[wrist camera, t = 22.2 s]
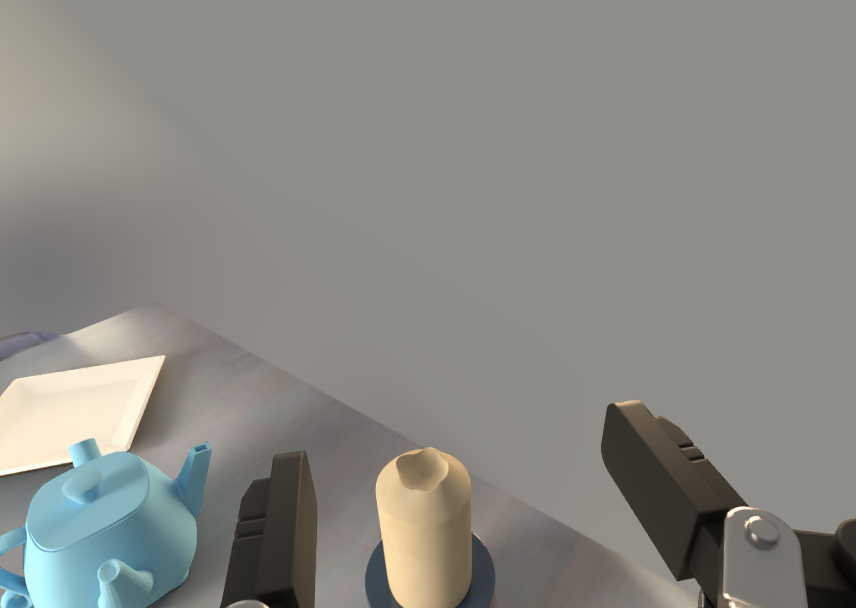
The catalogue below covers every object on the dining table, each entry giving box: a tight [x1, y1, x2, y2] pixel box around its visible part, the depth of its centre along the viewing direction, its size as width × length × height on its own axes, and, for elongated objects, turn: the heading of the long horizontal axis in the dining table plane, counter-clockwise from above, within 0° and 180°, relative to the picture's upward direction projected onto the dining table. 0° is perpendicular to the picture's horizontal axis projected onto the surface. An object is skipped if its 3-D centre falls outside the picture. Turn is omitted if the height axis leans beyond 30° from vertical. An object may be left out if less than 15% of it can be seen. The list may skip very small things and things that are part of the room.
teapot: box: [0, 438, 211, 608], centre depth 41 cm, size 15×14×11 cm
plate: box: [0, 356, 165, 477], centre depth 60 cm, size 19×19×2 cm
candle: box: [376, 447, 472, 608], centre depth 31 cm, size 6×6×10 cm
